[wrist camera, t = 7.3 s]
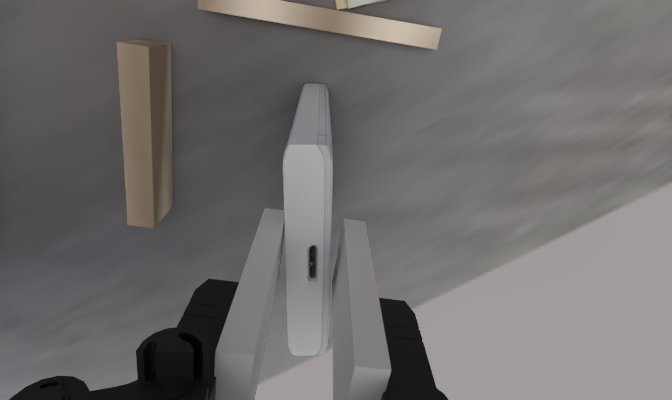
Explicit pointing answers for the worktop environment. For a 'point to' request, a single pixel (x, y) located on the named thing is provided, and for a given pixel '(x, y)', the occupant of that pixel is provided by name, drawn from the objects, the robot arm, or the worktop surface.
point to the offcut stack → (354, 3)
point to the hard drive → (308, 222)
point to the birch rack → (156, 91)
